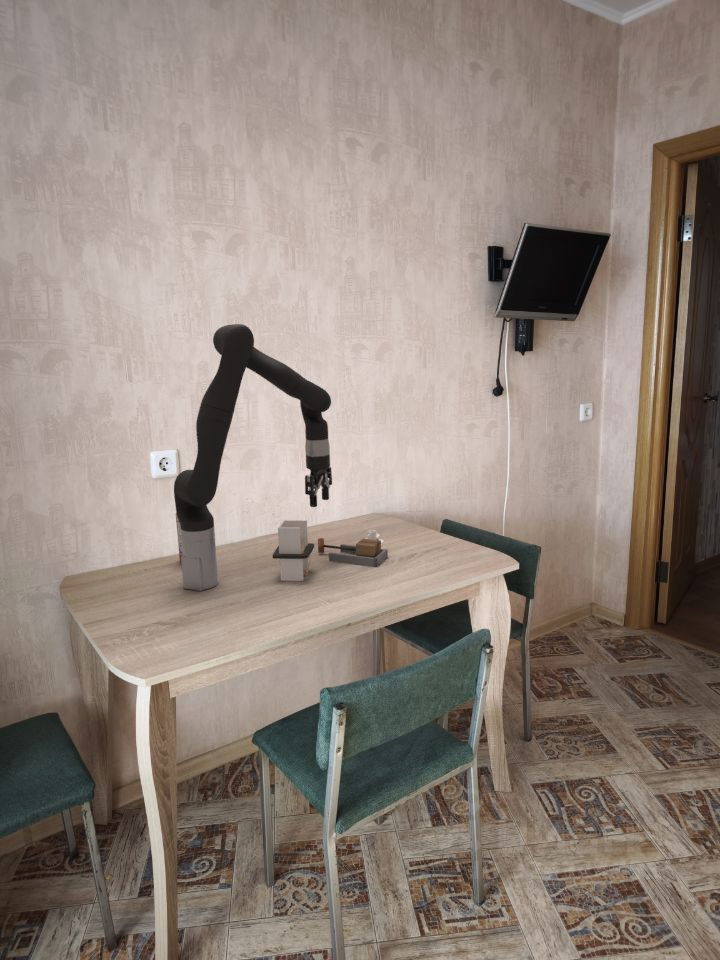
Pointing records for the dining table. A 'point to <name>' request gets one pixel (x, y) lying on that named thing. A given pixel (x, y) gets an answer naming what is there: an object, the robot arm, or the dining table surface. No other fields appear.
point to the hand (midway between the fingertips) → (319, 503)
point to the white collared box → (293, 550)
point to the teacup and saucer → (373, 535)
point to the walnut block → (357, 547)
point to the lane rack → (357, 557)
